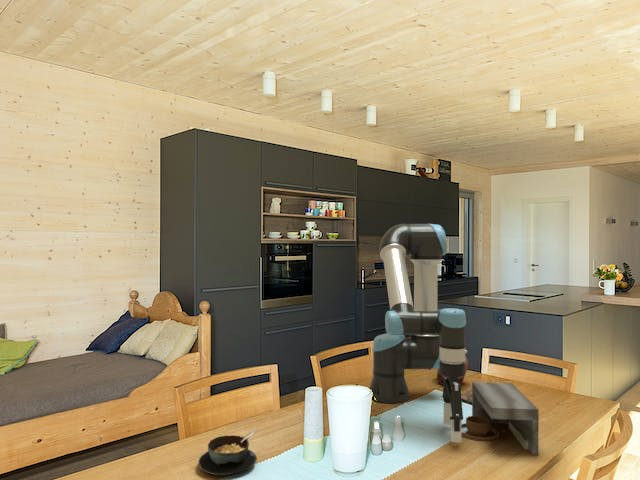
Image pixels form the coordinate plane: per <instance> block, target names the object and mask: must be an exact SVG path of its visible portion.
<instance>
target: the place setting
mask: <svg viewBox="0 0 640 480" xmlns="http://www.w3.org/2000/svg"><path fill="white" fill-rule="evenodd" d="M450 403H451V402H450ZM465 428H466V429H467V431H468V432H469V433H470V434H471V435H470V434H467V433H464V432H462V431H461V437H464V438H466V439H469V440H473V441H480V442H487V441H488V442H489V441H494V440H496V439H498V437H499V434H502V436H506V434H507V432H506V431H505V430H504V429H500V430H499V431H498V429H496V428H495V427H493V426H492V425H491V423H490V420H489V419H487V418H485V417H480V416H472V415H470V416H466V418H465V423H461V430H462V429H465ZM490 431H492V432H493V433H494V434H495V435H492V436H485V435H486V434H488V433H489V432H490ZM502 432H503V433H504V434H503V433H502ZM483 436H484V437H483Z"/></svg>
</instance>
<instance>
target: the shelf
mask: <svg viewBox="0 0 640 480" xmlns="http://www.w3.org/2000/svg"><path fill="white" fill-rule="evenodd" d="M471 385H472V387H471V389H472V404H471V407H472V408H471V416H480V417H485V418H487V419H489V420H490V424H507V425H508V429H509V431H510V432H511V433H512V435H513V436H514V437H515V439H516V440H517V441H518V442H519V444H520V446H521V447H522V448H523V449H524V450H528V452H530V454H531V455H532V456H537V457H538V456H539V424H540V423H539V420H540V419H539V417H540V415H539V413H540V412H539V408H538V407H537V406H536V405H534V403H533V402H532V401H531V400H530V399H529V398H528V397H527V396H525V394H524V393H522V391H521V390H519V389H518V388H517V387H516V386H515V384H514V383H511V382H487V381H486V382H485V381H484V382H480V381H472V382H471Z"/></svg>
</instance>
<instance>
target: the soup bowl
mask: <svg viewBox="0 0 640 480" xmlns="http://www.w3.org/2000/svg"><path fill="white" fill-rule="evenodd" d="M258 429H259V427H256V428H253V430H251V431H250V432H249V433H248V434H246V435H245V436H240V435H222V436H218V437H215V438H213V439H211V440H210V441H209V442H208V443H207V444H208V445H207V451H206V452H204V453H203V454H202V455H200V457H199V459H198V468H199V469H200V470H202V471H204V472H205V473H207V474H210V475H215V476H223V475H231V474H238V473H241V472H243V471H246V470H248V469H251V467H253V466H254V465H255V464H256V463H257V462H258V461H257V460H258V457H257V454H256V453H255V452H253V451H252V450H251V449H249V443H250V442H249V439H250V437H251V436H252V435H254V433H256V432H257V431H259V430H258Z"/></svg>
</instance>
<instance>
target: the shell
mask: <svg viewBox="0 0 640 480" xmlns="http://www.w3.org/2000/svg"><path fill="white" fill-rule="evenodd" d="M461 399H462V402H464V403H467V404H470V405H472V388H467V389H466V390H465V391H464V392H461Z"/></svg>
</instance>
